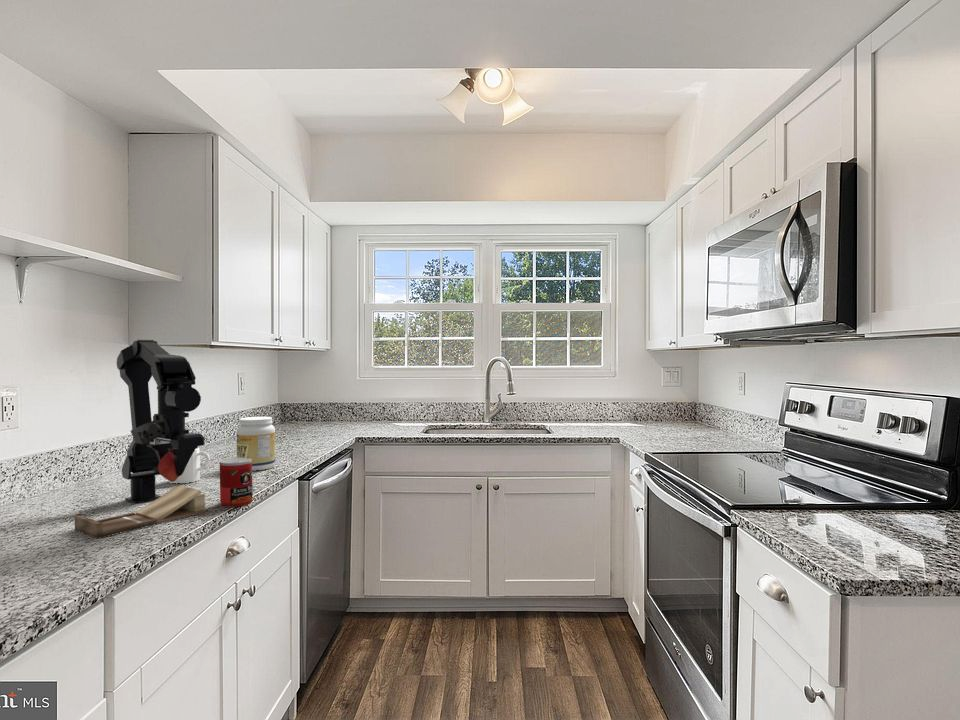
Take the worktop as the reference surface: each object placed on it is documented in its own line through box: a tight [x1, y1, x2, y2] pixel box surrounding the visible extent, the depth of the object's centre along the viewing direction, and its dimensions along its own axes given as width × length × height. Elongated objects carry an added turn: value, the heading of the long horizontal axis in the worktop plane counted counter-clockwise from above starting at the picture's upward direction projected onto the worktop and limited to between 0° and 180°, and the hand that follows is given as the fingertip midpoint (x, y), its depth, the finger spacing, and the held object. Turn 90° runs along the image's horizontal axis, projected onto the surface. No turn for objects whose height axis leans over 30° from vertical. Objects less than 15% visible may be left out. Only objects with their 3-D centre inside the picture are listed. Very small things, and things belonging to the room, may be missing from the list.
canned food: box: [219, 457, 254, 508], centre depth 146 cm, size 8×8×11 cm
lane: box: [74, 508, 205, 539], centre depth 130 cm, size 11×23×3 cm, turn 146°
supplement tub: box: [236, 416, 276, 472], centre depth 192 cm, size 12×12×17 cm
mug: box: [169, 447, 211, 485], centre depth 172 cm, size 8×12×10 cm
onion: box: [158, 451, 179, 483], centre depth 136 cm, size 6×6×8 cm
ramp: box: [135, 484, 206, 520], centre depth 136 cm, size 10×11×6 cm
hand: (172, 474), depth 136 cm, fingers closed on onion, 6 cm apart
